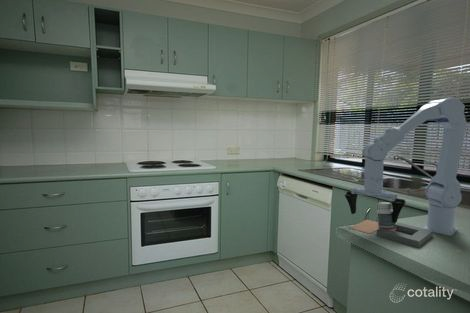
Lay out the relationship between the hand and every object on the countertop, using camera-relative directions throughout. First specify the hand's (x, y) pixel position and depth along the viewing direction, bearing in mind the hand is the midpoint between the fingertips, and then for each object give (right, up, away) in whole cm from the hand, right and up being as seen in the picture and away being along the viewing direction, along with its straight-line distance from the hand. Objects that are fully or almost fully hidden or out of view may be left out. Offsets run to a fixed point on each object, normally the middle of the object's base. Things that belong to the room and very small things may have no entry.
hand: (372, 217), depth 99 cm
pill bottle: (+3, -4, -3) cm, 6 cm away
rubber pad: (-1, -3, +1) cm, 4 cm away
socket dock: (+7, -4, -7) cm, 11 cm away
